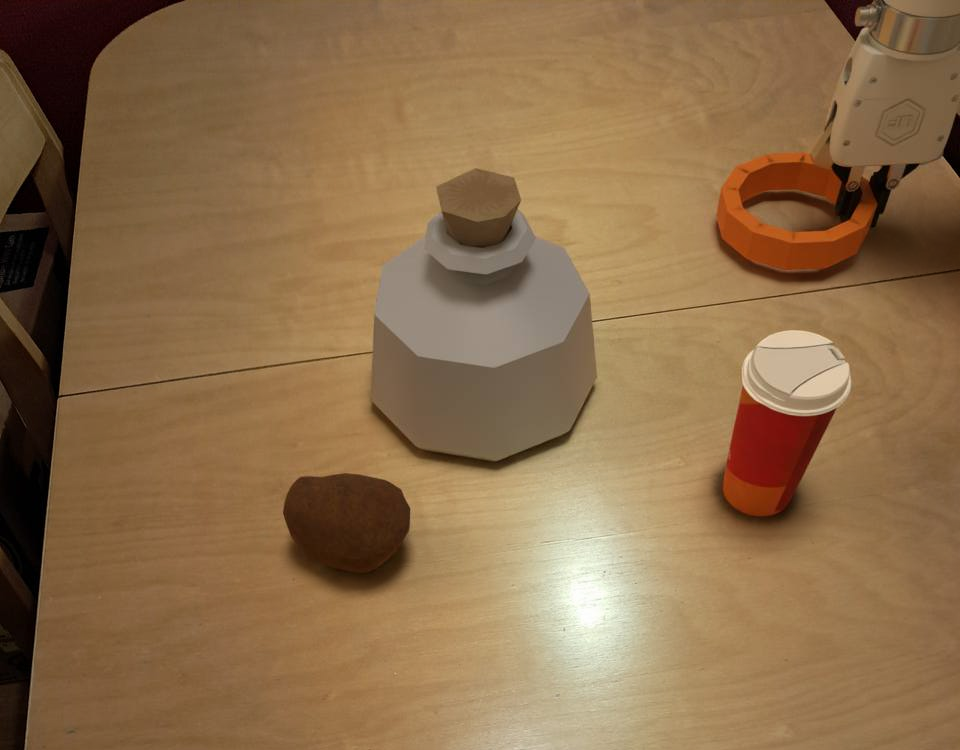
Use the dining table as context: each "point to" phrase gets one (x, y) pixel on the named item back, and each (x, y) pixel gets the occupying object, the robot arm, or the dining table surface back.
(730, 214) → the ring
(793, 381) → the paper cup
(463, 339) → the bottle
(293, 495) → the potato
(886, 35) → the robot arm
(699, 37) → the dining table surface
